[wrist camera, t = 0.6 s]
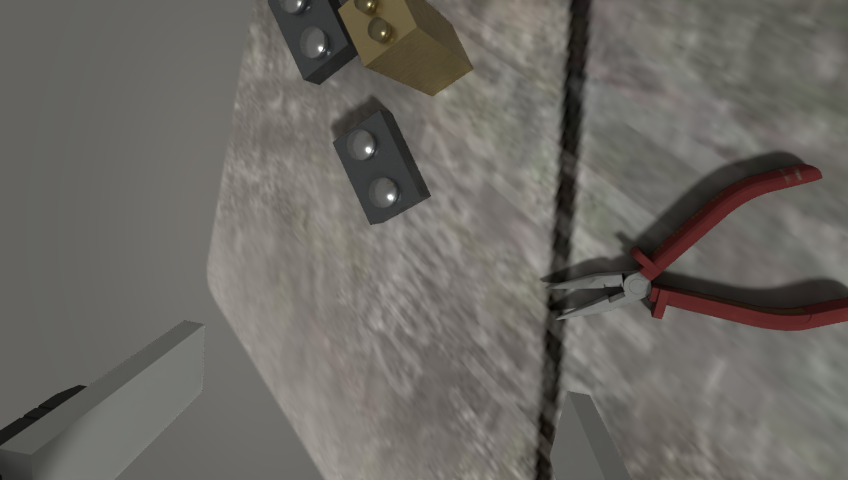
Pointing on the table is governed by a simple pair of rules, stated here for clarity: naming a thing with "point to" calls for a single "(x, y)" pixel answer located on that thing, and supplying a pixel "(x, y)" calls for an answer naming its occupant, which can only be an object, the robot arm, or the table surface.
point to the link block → (406, 42)
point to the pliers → (662, 295)
